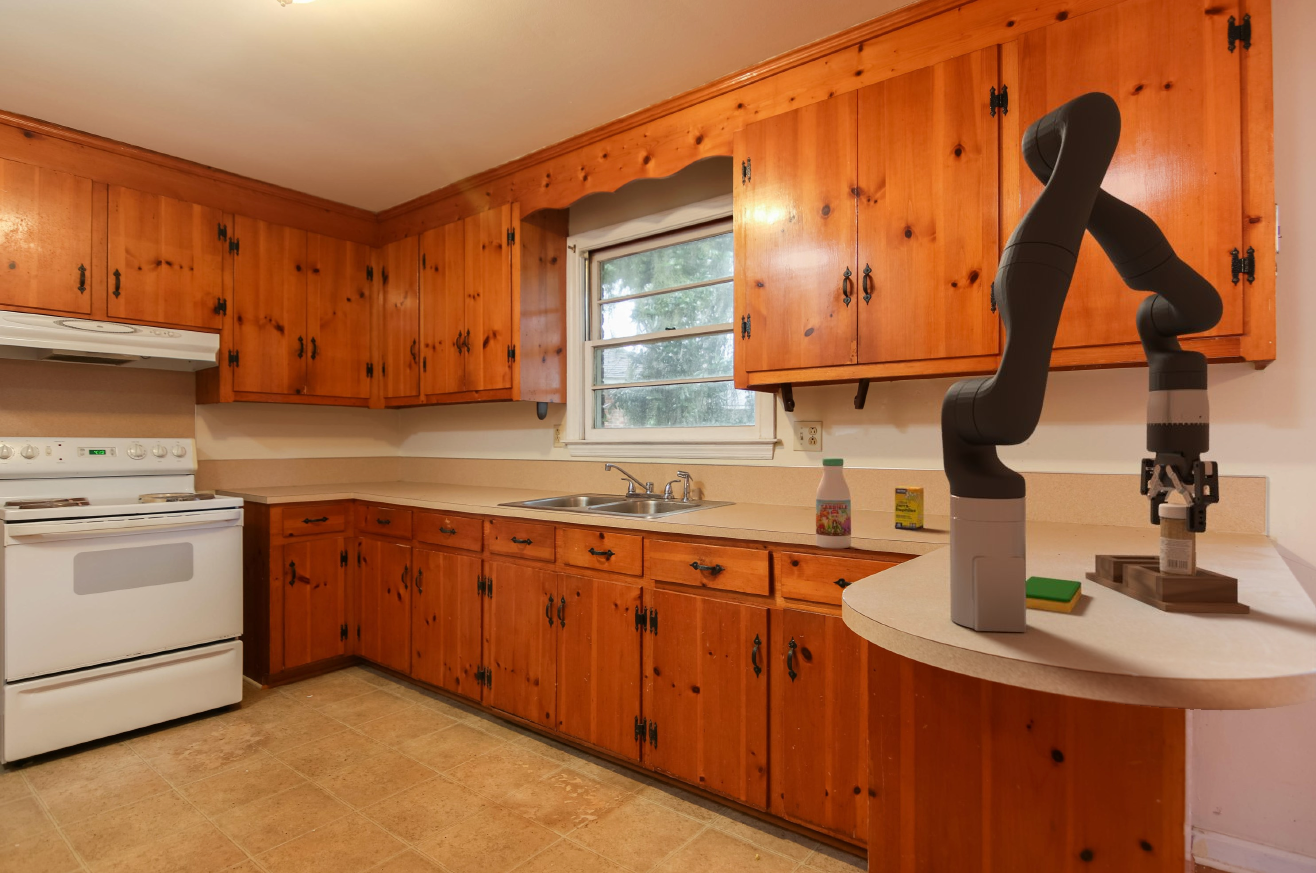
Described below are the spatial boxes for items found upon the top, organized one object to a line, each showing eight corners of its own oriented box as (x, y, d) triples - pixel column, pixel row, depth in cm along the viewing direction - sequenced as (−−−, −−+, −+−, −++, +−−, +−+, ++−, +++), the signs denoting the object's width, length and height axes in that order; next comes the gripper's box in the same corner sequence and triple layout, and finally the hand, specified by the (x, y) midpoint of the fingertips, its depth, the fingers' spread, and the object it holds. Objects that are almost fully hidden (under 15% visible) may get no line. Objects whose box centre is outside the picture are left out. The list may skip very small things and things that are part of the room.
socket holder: (1249, 613, 95) (1249, 581, 94) (1165, 611, 96) (1165, 579, 96) (1153, 578, 116) (1153, 553, 116) (1085, 577, 118) (1085, 552, 118)
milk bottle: (811, 543, 155) (810, 457, 155) (843, 543, 156) (843, 457, 156) (822, 549, 148) (821, 459, 148) (856, 548, 148) (855, 458, 148)
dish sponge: (1081, 596, 106) (1081, 581, 106) (1069, 615, 96) (1069, 599, 96) (1031, 590, 111) (1031, 575, 111) (1014, 608, 100) (1014, 591, 100)
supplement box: (894, 528, 178) (894, 487, 178) (901, 525, 183) (901, 485, 183) (917, 530, 175) (917, 488, 175) (924, 527, 180) (923, 486, 180)
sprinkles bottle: (1201, 593, 101) (1202, 504, 101) (1189, 598, 98) (1189, 506, 98) (1165, 587, 105) (1166, 501, 104) (1153, 591, 102) (1153, 503, 102)
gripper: (1239, 420, 94) (1238, 535, 94) (1173, 422, 108) (1173, 522, 108) (1181, 420, 95) (1180, 534, 95) (1123, 422, 109) (1123, 521, 109)
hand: (1176, 528), depth 101 cm, fingers open, 8 cm apart
